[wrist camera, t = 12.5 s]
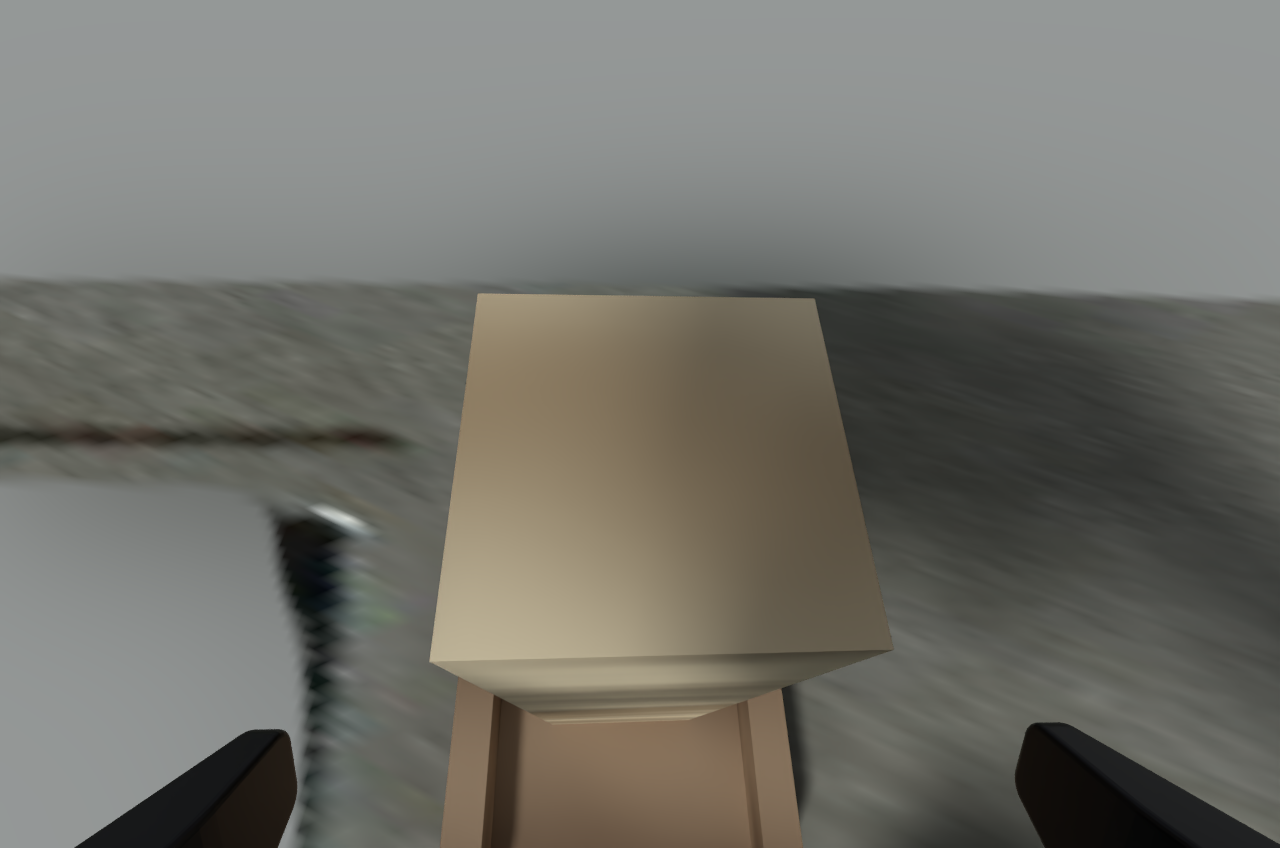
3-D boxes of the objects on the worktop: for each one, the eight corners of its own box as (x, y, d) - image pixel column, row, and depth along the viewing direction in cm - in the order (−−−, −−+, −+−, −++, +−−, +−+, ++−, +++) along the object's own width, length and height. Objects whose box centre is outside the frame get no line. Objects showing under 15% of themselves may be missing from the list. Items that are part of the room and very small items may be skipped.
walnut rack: (781, 878, 17) (809, 898, 14) (455, 895, 16) (432, 919, 14) (735, 483, 22) (749, 454, 20) (494, 484, 22) (482, 455, 20)
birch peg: (688, 720, 17) (893, 649, 5) (552, 724, 17) (429, 660, 5) (679, 583, 19) (814, 298, 7) (556, 586, 19) (478, 294, 7)
